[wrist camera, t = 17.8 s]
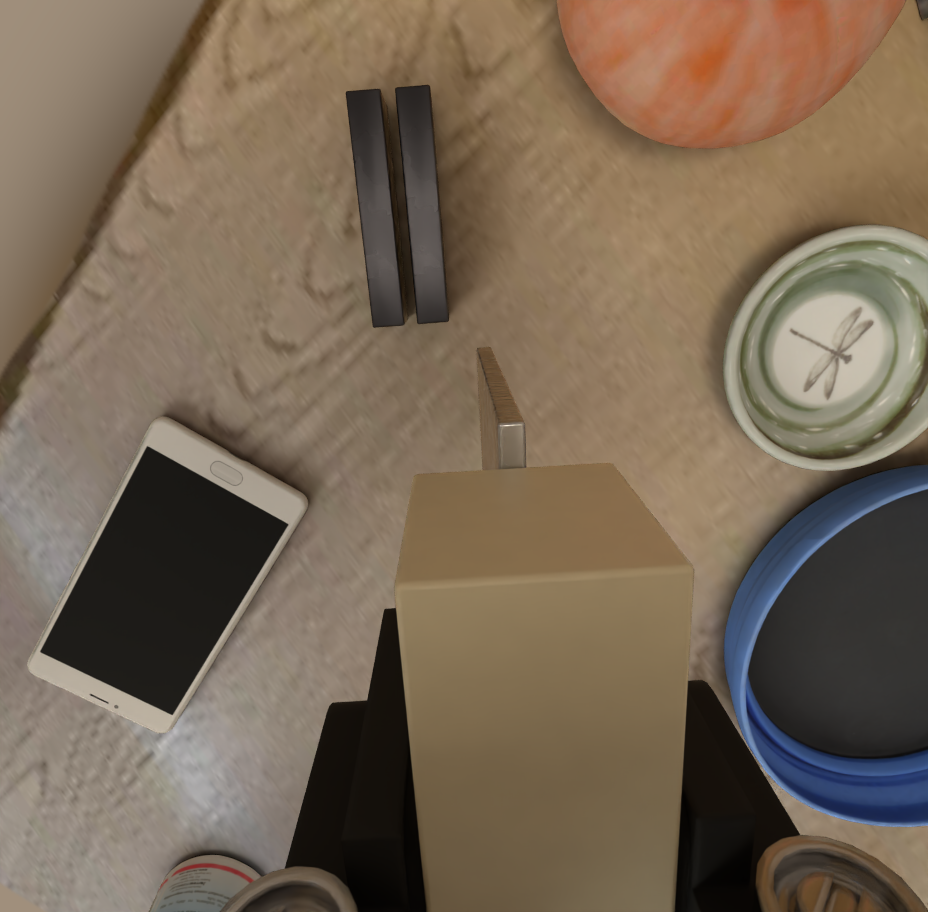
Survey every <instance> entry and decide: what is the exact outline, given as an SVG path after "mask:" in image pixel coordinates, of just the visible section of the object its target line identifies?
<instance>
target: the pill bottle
mask: <svg viewBox="0 0 928 912" xmlns="http://www.w3.org/2000/svg"><path fill="white" fill-rule="evenodd" d="M259 878H261V876H260V875H259V874H258V873H257V872H256V871H255V870H253V869H252V868H251V867H249V866H247V865H245V864H243V863H241V862H239V861H237V860H235V859H232V858H229V857H225V856H220V855H204V856H198V857H195V858H191V859H189V860H186V861H184V862H182V863H181V864H179V865H178V866H176V867H175V868H174V869H173V870H171V871H170V872H169V874H168V875H167V876H166V878H165V879H164V881H163V882H162V884H161V887H160V889H159V891H158V893H157V895H156V897H155V899H154V901H153V904H152V906H151V908H150V910H149V912H220V911H221V909H222V908H223V907H224V906H225V904H226V903H227V902H228V901H229V899H231V898H232V897H233V896H234V895H236V894H237V893H238V892H239V891H241V890H242V889H243V888H244V887H246V886H247V885H248V884H249V883H251V882H253V881H255V880H257V879H259Z"/></svg>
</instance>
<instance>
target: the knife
mask: <svg viewBox="0 0 928 912" xmlns="http://www.w3.org/2000/svg"><path fill="white" fill-rule="evenodd" d="M476 352H477V371H478V391H479V411H480V431H481V450H482V470H480V471H464V472H447V473H430V474H417V475H415V476H414V478H413V481H412V487H411V493H410V499H409V504H408V510H407V516H406V522H405V528H404V533H403V539H402V545H401V551H400V557H399V562H398V568H397V574H396V580H395V586H394V592H395V602H396V612H397V622H398V632H399V642H400V652H401V662H402V672H403V682H404V692H405V702H406V712H407V722H408V732H409V742H410V752H411V762H412V772H413V782H414V792H415V802H416V812H417V822H418V832H419V842H420V852H421V862H422V872H423V882H424V892H425V902H426V912H675V899H676V881H677V864H678V846H679V829H680V811H681V794H682V776H683V758H684V741H685V723H686V706H687V688H688V671H689V653H690V635H691V618H692V600H693V583H694V568H693V566H692V564H691V563H690V562H689V560H688V559H687V558H686V557H685V555H684V554H683V553H682V552H681V550H680V549H679V548H678V546H677V545H676V544H675V543H674V541H673V540H672V539H671V537H670V536H669V535H668V534H667V532H666V531H665V530H664V529H663V527H662V526H661V525H660V523H659V522H658V521H657V520H656V518H655V517H654V516H653V515H652V513H651V512H650V511H649V509H648V508H647V507H646V506H645V504H644V503H643V502H642V500H641V499H640V498H639V497H638V495H637V494H636V493H635V492H634V490H633V489H632V488H631V486H630V485H629V484H628V483H627V481H626V480H625V479H624V478H623V476H622V475H621V474H620V472H619V471H618V470H617V469H616V467H615V466H614V465H613V464H611V463H597V464H581V465H564V466H547V467H531V468H526V439H525V423H524V421H523V418H522V416H521V414H520V412H519V409H518V407H517V405H516V403H515V400H514V398H513V396H512V394H511V391H510V389H509V387H508V385H507V382H506V380H505V378H504V376H503V373H502V371H501V369H500V367H499V364H498V362H497V360H496V358H495V355H494V353H493V351H492V349H491V347H484V348H477V350H476Z"/></svg>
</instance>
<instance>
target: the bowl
mask: <svg viewBox="0 0 928 912" xmlns="http://www.w3.org/2000/svg"><path fill="white" fill-rule="evenodd" d="M724 661H725V671H726V676H727V681H728V684H729V688H730V691H731V697H732V702H733V706H734V709H735V713H736V717H737V720H738V723H739V726H740V729H741V731H742V734H743V736H744V738H745V740H746V742H747V744H748V746H749V748H750V749H751V751H752V752H753V754H754V755H755V757H756V758H757V760H758V761H759V762H760V764H761V765H762V767H763V768H764V769H765V771H766V772H767V773H768V774H769V776H770V777H771V778H772V779H773V780H774V781H775V782H776V783H777V784H778V785H779V786H780V787H781V788H782V789H784V790H785V791H786V792H787V793H789V794H790V795H791V796H793V797H794V798H796V799H797V800H799V801H800V802H802V803H804V804H806V805H808V806H809V807H811V808H813V809H816V810H818V811H820V812H823V813H825V814H828V815H831V816H834V817H837V818H840V819H844V820H847V821H852V822H857V823H863V824H868V825H876V826H891V827H915V826H926V825H928V465H917V466H908V467H903V468H898V469H893V470H888V471H884V472H880V473H877V474H873V475H870V476H867V477H865V478H862V479H859V480H856V481H854V482H851V483H849V484H847V485H845V486H843V487H840V488H838V489H836V490H834V491H833V492H831V493H829V494H827V495H826V496H824V497H822V498H821V499H819V500H817V501H816V502H814V503H813V504H811V505H810V506H808V507H807V508H806V509H804V510H803V511H801V512H800V513H799V514H798V515H796V516H795V517H794V518H793V519H791V520H790V521H789V522H788V523H787V524H786V525H785V526H784V527H783V528H782V529H781V530H780V531H779V532H778V533H777V534H776V535H775V536H774V537H773V538H772V539H771V540H770V542H769V543H768V544H767V545H766V546H765V548H764V549H763V550H762V551H761V553H760V554H759V555H758V557H757V558H756V560H755V561H754V563H753V564H752V566H751V567H750V568H749V570H748V572H747V574H746V575H745V577H744V579H743V581H742V583H741V585H740V587H739V589H738V591H737V593H736V596H735V598H734V601H733V604H732V607H731V610H730V613H729V617H728V621H727V626H726V632H725V640H724Z"/></svg>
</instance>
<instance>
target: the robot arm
mask: <svg viewBox="0 0 928 912" xmlns="http://www.w3.org/2000/svg"><path fill="white" fill-rule="evenodd" d="M220 912H426V902H425V892H424V882H423V872H422V862H421V852H420V842H419V832H418V822H417V812H416V802H415V792H414V782H413V772H412V762H411V752H410V742H409V732H408V722H407V712H406V702H405V692H404V682H403V672H402V662H401V652H400V642H399V632H398V622H397V612H396V608H392V609H385V610H384V614H383V619H382V624H381V630H380V635H379V640H378V646H377V651H376V656H375V662H374V667H373V673H372V678H371V683H370V689H369V694H368V699H367V701H353V702H336V703H332V704H331V705H330V706H329V709H328V711H327V714H326V718H325V722H324V725H323V729H322V733H321V736H320V740H319V744H318V748H317V751H316V755H315V759H314V762H313V766H312V770H311V773H310V777H309V781H308V785H307V788H306V792H305V796H304V799H303V803H302V807H301V810H300V814H299V818H298V822H297V825H296V829H295V833H294V836H293V840H292V844H291V847H290V851H289V855H288V859H287V862H286V866H285V869H282V870H277V871H273V872H271V873H269V874H267V875H265V876H263V877H261V878H259V879H257V880H255V881H253V882H251V883H249V884H248V885H247V886H246V887H244V888H243V889H242V890H241V891H239V892H238V893H237V894H236V895H234V896H233V897H232V898H231V899H229V901H228V902H227V903H226V904H225V906H224V907H223V908H222V909H221V911H220ZM675 912H928V910H927V908H926V907H925V905H924V904H923V902H922V901H921V900H920V899H919V897H918V896H917V895H916V894H915V893H914V892H913V891H912V889H911V888H910V887H909V886H908V885H907V884H906V882H905V881H904V880H903V879H902V878H901V877H900V876H899V875H897V874H896V873H895V872H893V871H892V870H891V869H890V868H888V867H887V866H886V865H884V864H883V863H882V862H881V861H879V860H878V859H877V858H875V857H873V856H871V855H869V854H867V853H865V852H863V851H862V850H860V849H858V848H856V847H854V846H852V845H849V844H846V843H843V842H840V841H837V840H834V839H830V838H827V837H820V836H809V835H800V834H799V832H798V830H797V829H796V827H795V825H794V824H793V822H792V820H791V819H790V817H789V815H788V814H787V812H786V810H785V809H784V807H783V805H782V804H781V802H780V800H779V799H778V797H777V796H776V794H775V792H774V791H773V789H772V787H771V786H770V784H769V782H768V781H767V779H766V777H765V776H764V774H763V772H762V771H761V769H760V767H759V766H758V764H757V762H756V761H755V759H754V757H753V756H752V754H751V753H750V751H749V749H748V748H747V746H746V744H745V743H744V741H743V739H742V738H741V736H740V734H739V733H738V731H737V729H736V728H735V726H734V724H733V723H732V721H731V719H730V718H729V716H728V715H727V713H726V711H725V710H724V708H723V706H722V705H721V703H720V701H719V700H718V698H717V696H716V695H715V693H714V691H713V690H712V689H711V687H710V686H709V685H708V683H707V682H705V681H703V680H694V681H688V688H687V706H686V723H685V741H684V758H683V776H682V794H681V811H680V829H679V846H678V864H677V881H676V899H675Z"/></svg>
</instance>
